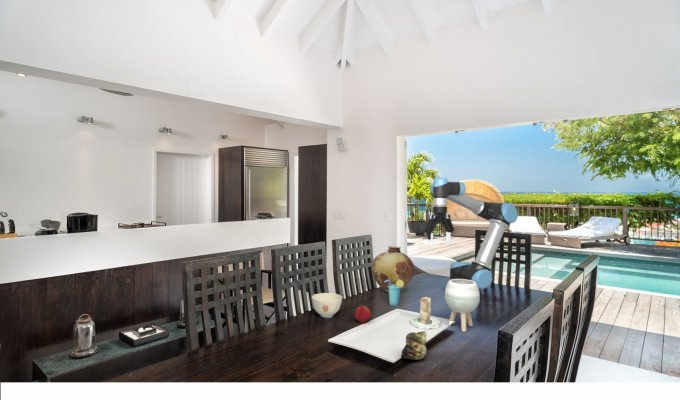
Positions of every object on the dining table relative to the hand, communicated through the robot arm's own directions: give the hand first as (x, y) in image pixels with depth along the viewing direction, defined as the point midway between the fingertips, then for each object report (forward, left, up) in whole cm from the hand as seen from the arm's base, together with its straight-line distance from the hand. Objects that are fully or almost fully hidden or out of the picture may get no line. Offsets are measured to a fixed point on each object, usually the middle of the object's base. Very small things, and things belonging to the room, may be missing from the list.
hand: (439, 244), depth 215 cm
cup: (+14, -22, -37) cm, 45 cm away
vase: (-3, -44, -37) cm, 58 cm away
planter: (+10, +25, -37) cm, 46 cm away
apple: (+47, -5, -37) cm, 60 cm away
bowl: (+58, -22, -37) cm, 72 cm away
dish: (+22, +13, -37) cm, 45 cm away
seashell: (+54, +40, -37) cm, 77 cm away
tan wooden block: (+22, +13, -36) cm, 44 cm away
